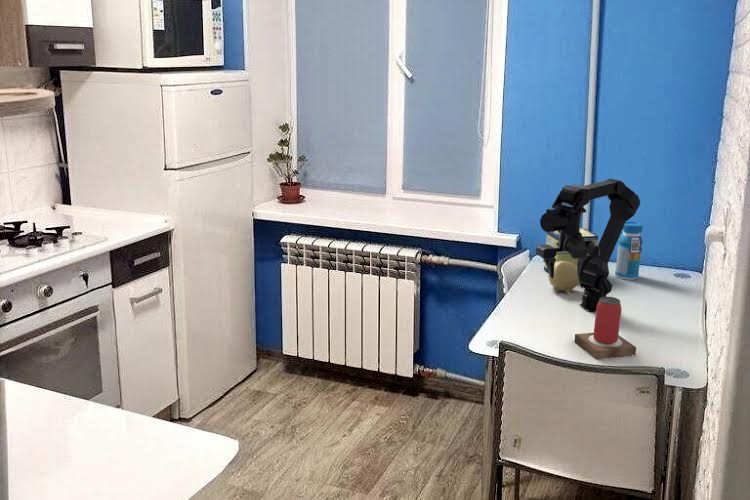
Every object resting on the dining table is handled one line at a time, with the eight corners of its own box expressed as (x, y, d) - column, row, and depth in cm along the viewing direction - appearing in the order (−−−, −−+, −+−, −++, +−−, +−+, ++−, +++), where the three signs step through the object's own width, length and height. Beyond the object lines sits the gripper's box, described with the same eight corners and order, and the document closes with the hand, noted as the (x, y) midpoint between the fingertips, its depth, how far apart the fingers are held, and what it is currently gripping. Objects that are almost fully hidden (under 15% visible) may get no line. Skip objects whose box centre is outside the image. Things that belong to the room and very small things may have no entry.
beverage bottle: (611, 277, 276) (617, 224, 271) (617, 271, 283) (623, 219, 278) (635, 281, 272) (642, 227, 267) (641, 275, 279) (647, 222, 273)
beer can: (622, 343, 212) (627, 303, 208) (601, 345, 210) (606, 304, 206) (608, 334, 218) (613, 295, 214) (588, 336, 216) (592, 296, 212)
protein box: (594, 276, 277) (599, 235, 273) (554, 278, 274) (558, 236, 270) (581, 268, 287) (585, 227, 283) (542, 269, 284) (546, 229, 279)
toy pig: (586, 296, 256) (589, 266, 253) (550, 295, 256) (553, 265, 253) (579, 286, 266) (582, 257, 263) (544, 285, 266) (547, 256, 263)
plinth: (611, 338, 221) (612, 330, 221) (635, 355, 210) (636, 347, 209) (574, 342, 218) (575, 333, 218) (596, 359, 207) (597, 350, 206)
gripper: (554, 236, 220) (549, 287, 224) (612, 233, 224) (606, 283, 229) (537, 226, 230) (532, 275, 234) (592, 224, 235) (587, 272, 239)
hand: (565, 277), depth 234 cm, fingers open, 9 cm apart
